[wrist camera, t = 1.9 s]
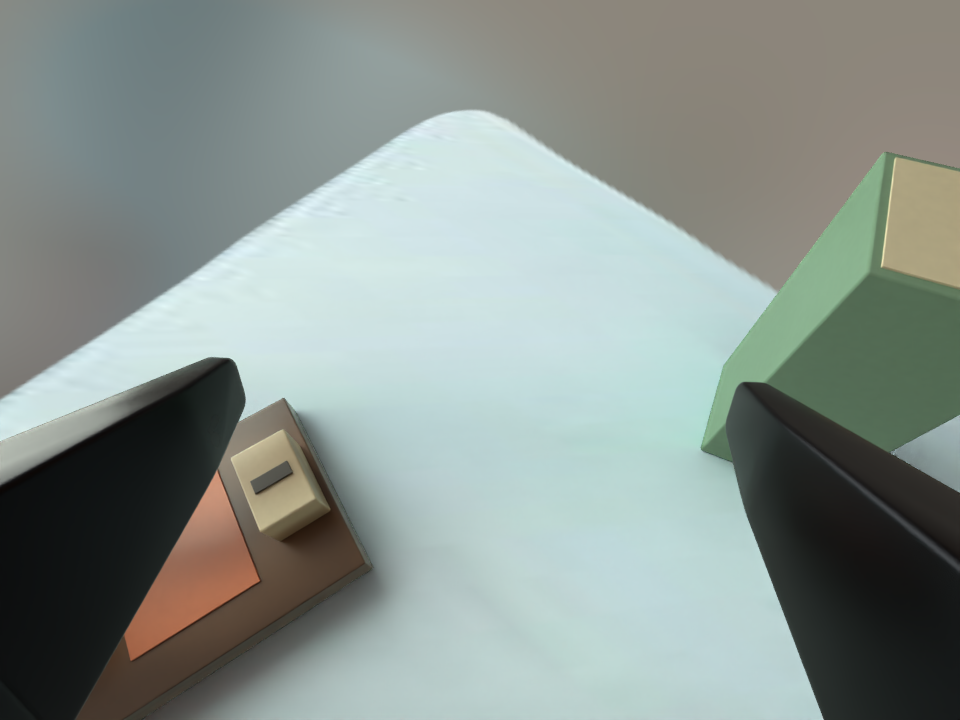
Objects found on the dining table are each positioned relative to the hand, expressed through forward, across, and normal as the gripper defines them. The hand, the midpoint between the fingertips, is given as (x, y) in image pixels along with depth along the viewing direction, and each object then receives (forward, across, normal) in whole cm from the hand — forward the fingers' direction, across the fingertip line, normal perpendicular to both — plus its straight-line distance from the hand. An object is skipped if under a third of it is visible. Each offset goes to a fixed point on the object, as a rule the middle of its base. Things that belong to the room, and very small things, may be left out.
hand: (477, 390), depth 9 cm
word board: (+6, +13, +14) cm, 20 cm away
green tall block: (+13, -13, +10) cm, 21 cm away
